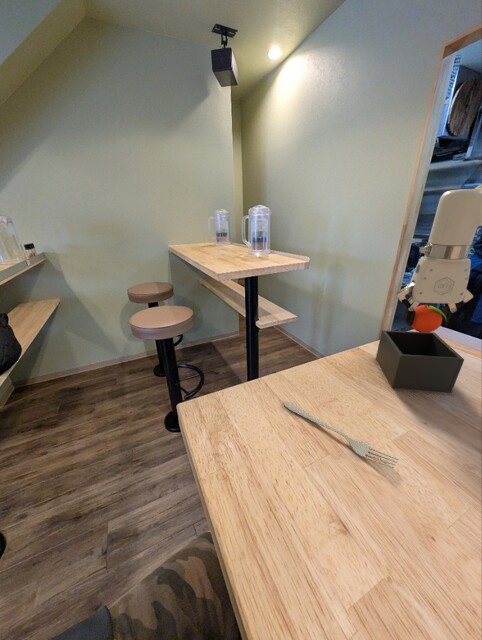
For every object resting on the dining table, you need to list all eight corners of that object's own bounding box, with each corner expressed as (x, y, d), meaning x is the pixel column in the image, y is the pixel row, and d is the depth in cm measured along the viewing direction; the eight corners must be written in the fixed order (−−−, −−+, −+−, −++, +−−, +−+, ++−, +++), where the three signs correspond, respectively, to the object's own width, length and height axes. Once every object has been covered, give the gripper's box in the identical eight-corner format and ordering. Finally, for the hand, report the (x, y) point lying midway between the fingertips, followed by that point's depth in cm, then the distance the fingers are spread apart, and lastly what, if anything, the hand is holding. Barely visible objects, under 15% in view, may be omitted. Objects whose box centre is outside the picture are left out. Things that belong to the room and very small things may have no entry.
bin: (424, 361, 74) (434, 332, 70) (451, 392, 62) (464, 359, 58) (375, 358, 77) (381, 330, 72) (391, 388, 64) (400, 355, 60)
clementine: (448, 334, 62) (457, 308, 59) (433, 342, 59) (442, 314, 56) (414, 323, 69) (421, 298, 66) (399, 329, 66) (406, 304, 63)
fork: (288, 399, 62) (288, 394, 61) (397, 464, 46) (399, 457, 45) (280, 406, 60) (280, 401, 59) (391, 476, 44) (393, 469, 43)
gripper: (410, 255, 54) (392, 329, 61) (504, 255, 51) (473, 333, 58) (397, 249, 60) (382, 316, 68) (479, 248, 57) (454, 319, 65)
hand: (424, 323), depth 63 cm, fingers closed on clementine, 7 cm apart
